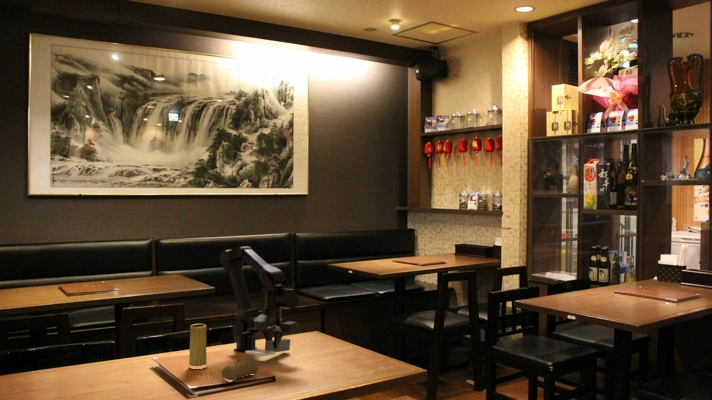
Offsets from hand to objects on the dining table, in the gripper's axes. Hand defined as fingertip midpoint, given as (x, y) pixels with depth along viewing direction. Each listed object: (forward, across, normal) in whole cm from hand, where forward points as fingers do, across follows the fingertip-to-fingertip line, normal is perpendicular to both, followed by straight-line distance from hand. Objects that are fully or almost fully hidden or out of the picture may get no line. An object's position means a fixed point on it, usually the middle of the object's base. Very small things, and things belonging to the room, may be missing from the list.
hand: (272, 348), depth 215 cm
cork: (0, +7, -20) cm, 21 cm away
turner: (+1, 0, 0) cm, 1 cm away
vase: (+4, -14, -23) cm, 27 cm away
